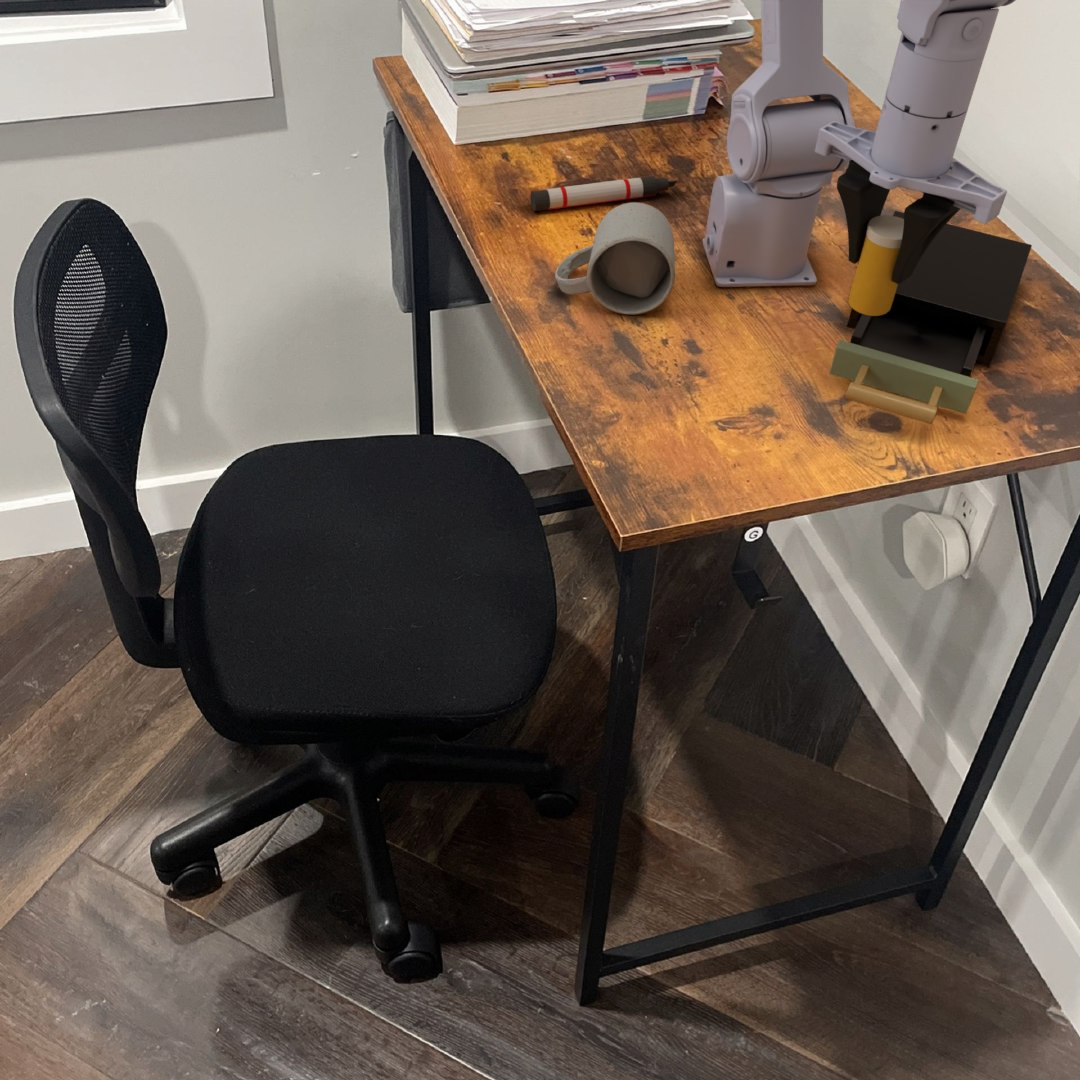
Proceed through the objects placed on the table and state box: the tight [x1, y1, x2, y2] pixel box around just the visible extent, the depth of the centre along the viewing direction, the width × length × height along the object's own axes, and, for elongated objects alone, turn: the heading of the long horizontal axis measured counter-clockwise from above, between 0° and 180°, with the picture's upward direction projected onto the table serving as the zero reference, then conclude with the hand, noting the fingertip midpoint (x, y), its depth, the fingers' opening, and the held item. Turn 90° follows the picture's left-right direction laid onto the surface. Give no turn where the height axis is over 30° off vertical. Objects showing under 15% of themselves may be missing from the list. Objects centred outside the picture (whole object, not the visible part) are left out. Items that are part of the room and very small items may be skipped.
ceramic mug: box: [554, 201, 676, 316], centre depth 102 cm, size 11×8×8 cm
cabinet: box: [846, 210, 1033, 367], centre depth 103 cm, size 14×13×5 cm
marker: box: [529, 175, 678, 212], centre depth 115 cm, size 15×2×2 cm, turn 107°
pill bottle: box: [848, 214, 904, 316], centre depth 89 cm, size 4×4×7 cm
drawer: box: [829, 300, 988, 425], centre depth 95 cm, size 17×11×3 cm
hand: (879, 267), depth 90 cm, fingers closed on pill bottle, 3 cm apart
